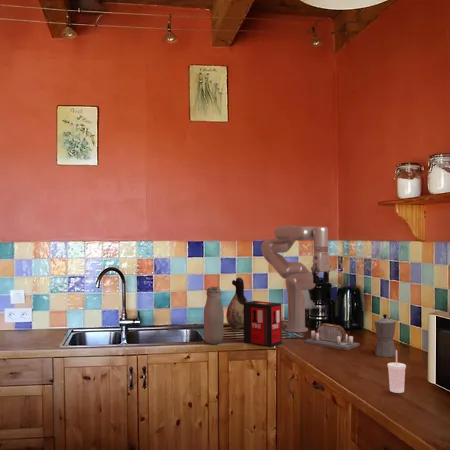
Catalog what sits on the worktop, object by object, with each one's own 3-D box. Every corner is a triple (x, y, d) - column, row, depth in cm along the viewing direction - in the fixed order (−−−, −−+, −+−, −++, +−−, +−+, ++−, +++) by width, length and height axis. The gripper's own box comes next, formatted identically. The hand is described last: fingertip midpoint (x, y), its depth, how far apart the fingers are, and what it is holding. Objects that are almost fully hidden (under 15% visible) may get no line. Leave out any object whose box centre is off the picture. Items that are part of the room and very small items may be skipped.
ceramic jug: (222, 328, 293) (222, 276, 294) (248, 327, 298) (247, 275, 298) (232, 334, 277) (231, 278, 277) (258, 332, 282) (258, 277, 282)
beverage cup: (402, 387, 180) (401, 348, 180) (409, 393, 174) (408, 352, 174) (385, 388, 180) (384, 348, 180) (391, 393, 174) (390, 352, 174)
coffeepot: (393, 359, 220) (392, 317, 220) (371, 356, 225) (370, 315, 225) (400, 351, 234) (399, 312, 234) (379, 349, 238) (378, 310, 239)
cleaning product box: (243, 342, 256) (243, 302, 256) (254, 339, 263) (254, 300, 263) (271, 347, 245) (270, 305, 245) (281, 344, 252) (281, 303, 252)
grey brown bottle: (206, 346, 248) (206, 288, 248) (201, 342, 258) (201, 286, 258) (226, 345, 251) (225, 287, 251) (220, 340, 261) (220, 285, 261)
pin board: (304, 343, 254) (304, 332, 254) (317, 339, 263) (317, 328, 263) (347, 350, 238) (346, 338, 238) (359, 345, 247) (359, 334, 247)
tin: (346, 343, 246) (346, 325, 246) (343, 344, 244) (342, 326, 244) (319, 339, 256) (319, 322, 257) (316, 340, 254) (315, 323, 254)
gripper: (317, 250, 260) (318, 284, 259) (335, 249, 272) (335, 281, 272) (305, 250, 265) (305, 283, 264) (323, 249, 277) (323, 281, 277)
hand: (321, 282), depth 268 cm, fingers open, 9 cm apart
